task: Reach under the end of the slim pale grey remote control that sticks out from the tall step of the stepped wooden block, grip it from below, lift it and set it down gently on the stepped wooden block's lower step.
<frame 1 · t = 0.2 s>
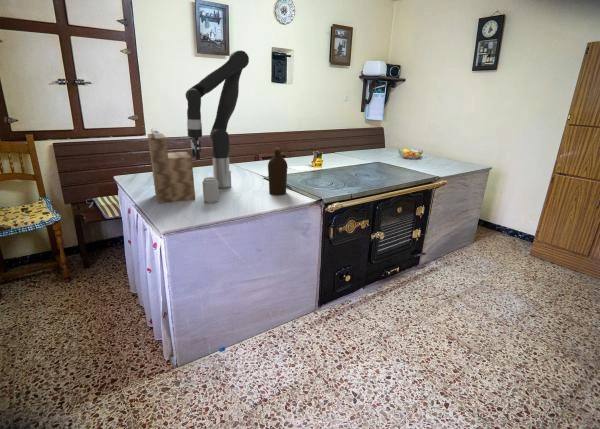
hand: (196, 157, 191), 18 cm above the countertop, tool pointing down, fingers open, 8 cm apart
remote: (155, 134, 170), point 32 cm above the countertop, touching stepped wooden block
olive oil: (277, 193, 191), on the countertop
stepped wooden block: (175, 197, 180), on the countertop
can: (211, 201, 175), on the countertop
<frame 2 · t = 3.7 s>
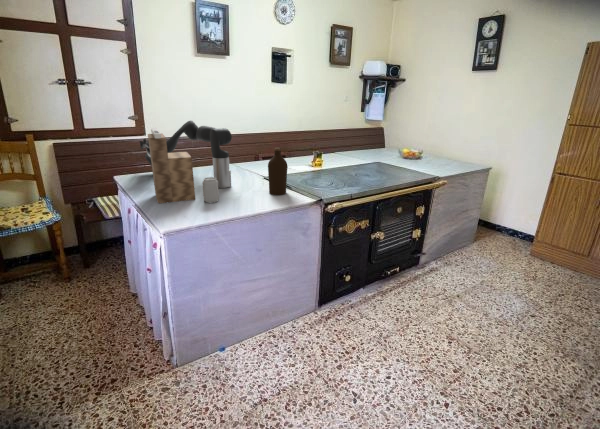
hand: (153, 139, 195), 26 cm above the countertop, tool pointing upward, fingers open, 8 cm apart
nothing on the countertop moved.
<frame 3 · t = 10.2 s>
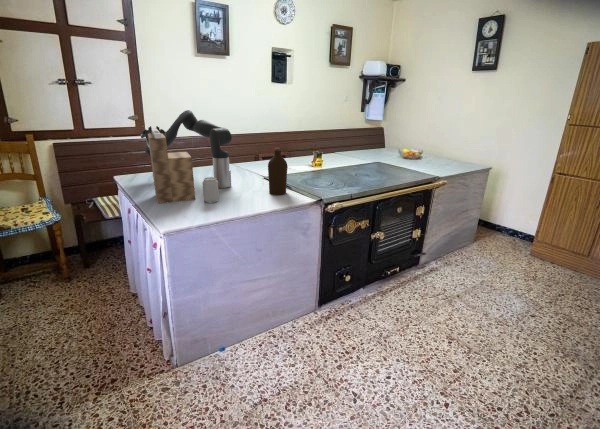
hand: (153, 128, 176), 34 cm above the countertop, tool pointing upward, fingers closed on remote, 2 cm apart
remote: (155, 134, 170), point 32 cm above the countertop, touching gripper, stepped wooden block
everything else where it was.
when the fingers open (26 cm above the countertop, at t = 16.5 s): remote stays where it is, resting on stepped wooden block.
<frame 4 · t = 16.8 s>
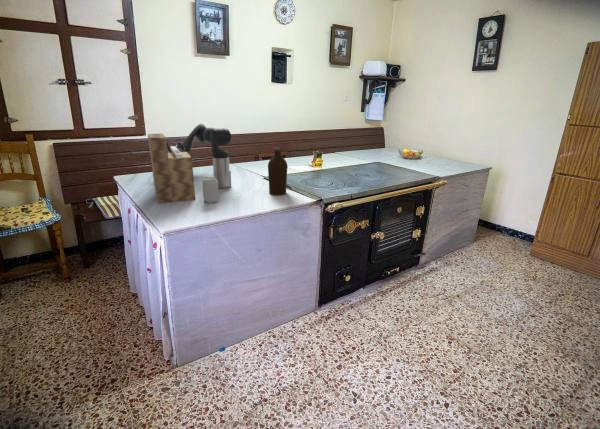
hand: (173, 144, 183), 26 cm above the countertop, tool pointing upward, fingers open, 5 cm apart
remote: (175, 153, 177), point 22 cm above the countertop, touching stepped wooden block
everything else where it was.
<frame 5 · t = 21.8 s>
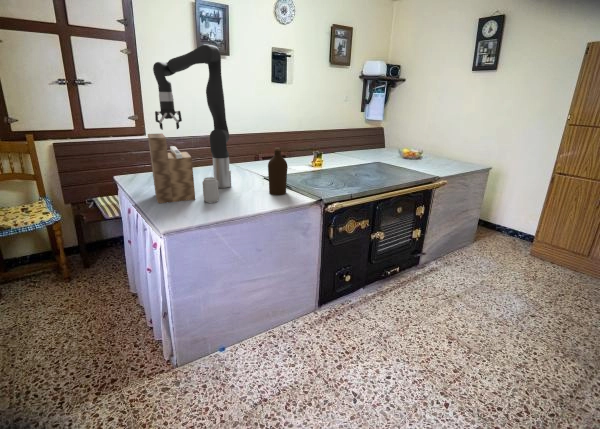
hand: (169, 129, 202), 31 cm above the countertop, tool pointing down, fingers open, 8 cm apart
nothing on the countertop moved.
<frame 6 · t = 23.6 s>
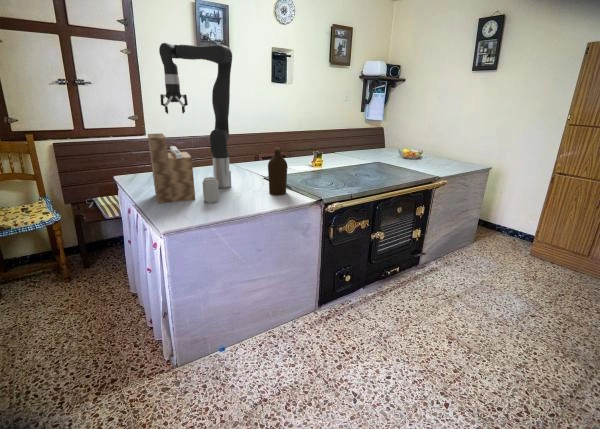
hand: (175, 113, 197), 40 cm above the countertop, tool pointing down, fingers open, 8 cm apart
nothing on the countertop moved.
at the end: remote inside the target area (0.2 cm from its centre), point 22.0 cm above the countertop; remote touching stepped wooden block; the gripper is holding nothing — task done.
